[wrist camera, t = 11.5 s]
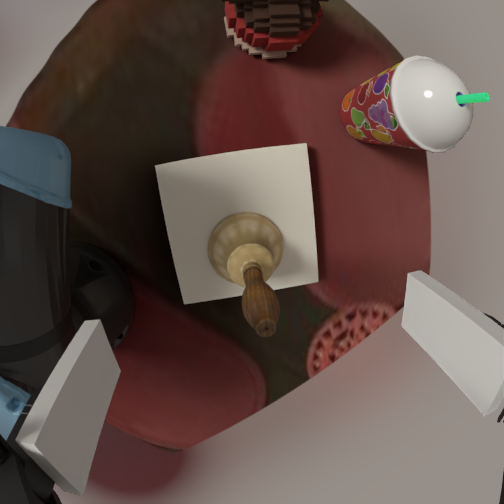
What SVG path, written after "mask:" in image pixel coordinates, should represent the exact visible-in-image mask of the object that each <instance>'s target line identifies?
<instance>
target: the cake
mask: <svg viewBox="0 0 504 504" xmlns="http://www.w3.org/2000/svg"><path fill="white" fill-rule="evenodd" d="M319 1H327V2H328V1H329V0H222V2H225V14H226V17H224V22H225V27H226V32H227V38H229V37H234V42H235V47H237V46H241V47H242V51H247V50H248V51H249V55H258V54H261V55H262V59H271V58H284V57H286V56H287V53H286V52H296V51H297V50H298V49H297V47H301V46H302V44H303V43H304V42H305V41H306V40H307V38H308V37H309V36H310V35H311V34H312V33H313V32H314V30H315V29H316V28H317V27H318V26H319V21H318V20H319V18H320V17H321V16H322V15H323V14H322V10H321V7H320V3H319Z"/></svg>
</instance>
